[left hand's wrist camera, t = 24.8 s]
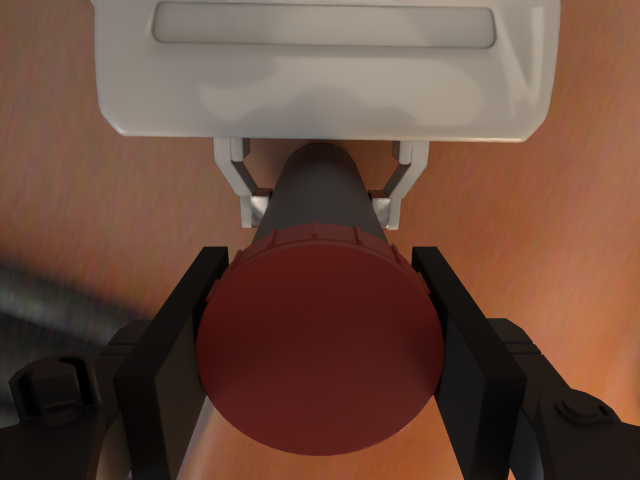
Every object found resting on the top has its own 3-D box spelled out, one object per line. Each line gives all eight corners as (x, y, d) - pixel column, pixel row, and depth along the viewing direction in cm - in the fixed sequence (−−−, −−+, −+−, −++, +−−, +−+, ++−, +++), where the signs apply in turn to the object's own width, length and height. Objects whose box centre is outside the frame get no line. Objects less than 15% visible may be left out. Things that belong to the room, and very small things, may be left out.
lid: (314, 447, 13) (313, 493, 12) (161, 319, 12) (139, 353, 10) (476, 333, 12) (498, 369, 10) (327, 169, 10) (328, 184, 9)
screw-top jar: (374, 191, 29) (455, 359, 11) (311, 233, 30) (298, 446, 12) (329, 126, 27) (346, 205, 10) (265, 173, 28) (179, 318, 11)
